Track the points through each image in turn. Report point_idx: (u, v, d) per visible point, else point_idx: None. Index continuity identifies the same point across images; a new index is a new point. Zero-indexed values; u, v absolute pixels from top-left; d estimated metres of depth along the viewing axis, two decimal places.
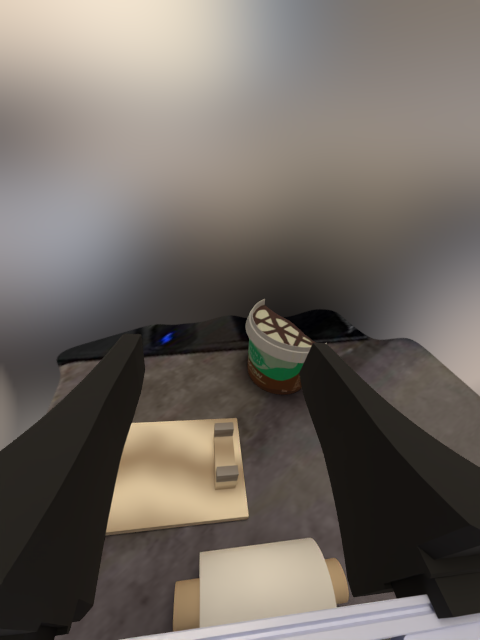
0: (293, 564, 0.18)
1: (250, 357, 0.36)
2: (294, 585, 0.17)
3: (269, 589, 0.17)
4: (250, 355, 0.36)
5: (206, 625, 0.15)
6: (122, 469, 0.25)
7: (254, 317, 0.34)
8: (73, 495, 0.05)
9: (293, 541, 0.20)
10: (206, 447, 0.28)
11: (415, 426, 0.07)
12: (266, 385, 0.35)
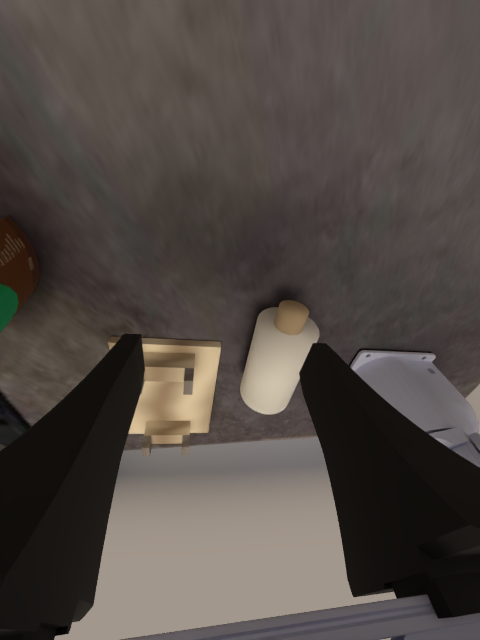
0: (277, 367, 0.20)
1: None
2: (289, 371, 0.20)
3: (283, 384, 0.21)
4: None
5: (281, 409, 0.24)
6: (169, 417, 0.30)
7: None
8: (73, 495, 0.05)
9: (258, 347, 0.20)
10: None
11: (415, 426, 0.07)
12: (29, 295, 0.18)
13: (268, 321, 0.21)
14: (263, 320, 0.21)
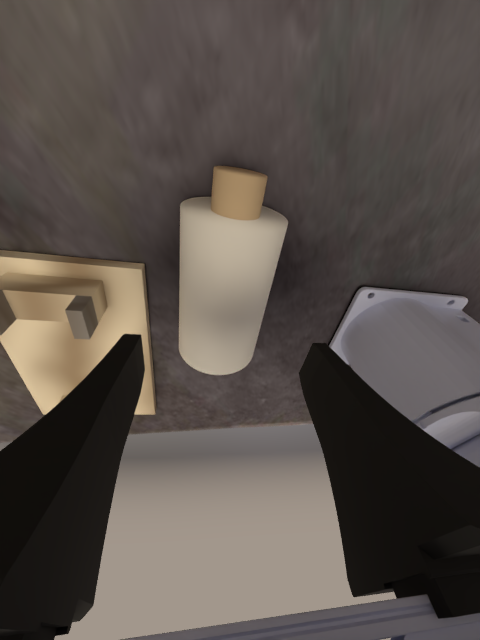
0: (213, 278, 0.12)
1: None
2: (234, 287, 0.12)
3: (230, 316, 0.13)
4: None
5: (237, 368, 0.16)
6: None
7: None
8: (73, 495, 0.05)
9: (183, 247, 0.12)
10: None
11: (415, 426, 0.07)
12: None
13: (201, 205, 0.12)
14: (193, 203, 0.12)
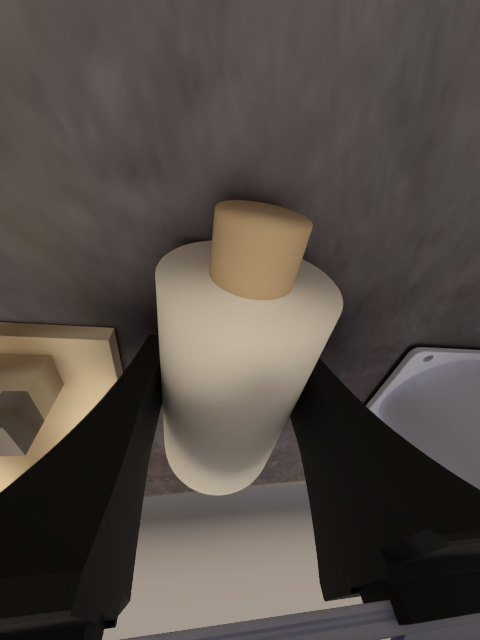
0: (213, 399, 0.07)
1: None
2: (251, 411, 0.07)
3: (241, 442, 0.08)
4: None
5: (248, 483, 0.11)
6: None
7: None
8: (122, 492, 0.05)
9: (162, 339, 0.07)
10: None
11: (386, 426, 0.07)
12: None
13: (194, 264, 0.07)
14: (179, 261, 0.07)
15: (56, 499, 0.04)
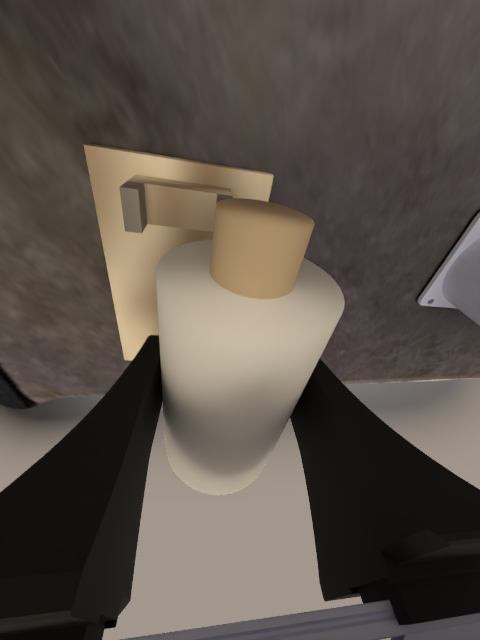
0: (214, 399, 0.07)
1: None
2: (252, 410, 0.07)
3: (242, 442, 0.08)
4: None
5: (249, 483, 0.11)
6: None
7: None
8: (122, 492, 0.05)
9: (162, 338, 0.07)
10: (156, 227, 0.16)
11: (386, 426, 0.07)
12: None
13: (194, 263, 0.07)
14: (180, 260, 0.07)
15: (56, 499, 0.04)
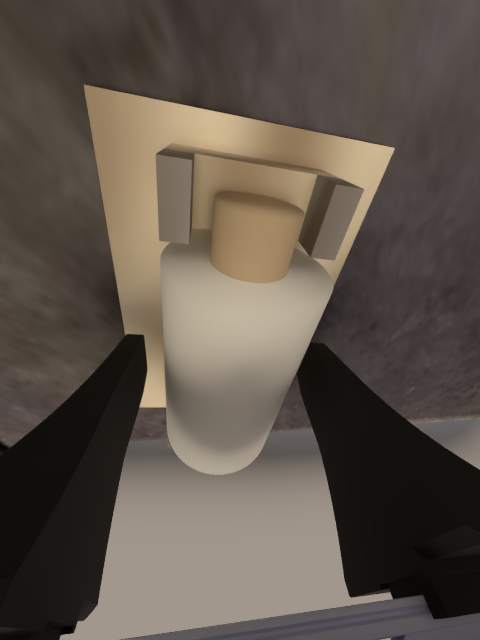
0: (214, 375, 0.07)
1: None
2: (248, 386, 0.07)
3: (239, 418, 0.08)
4: None
5: (247, 463, 0.11)
6: None
7: None
8: (79, 495, 0.05)
9: (166, 320, 0.07)
10: (197, 232, 0.10)
11: (412, 426, 0.07)
12: None
13: (196, 252, 0.08)
14: (182, 249, 0.08)
15: (1, 502, 0.04)
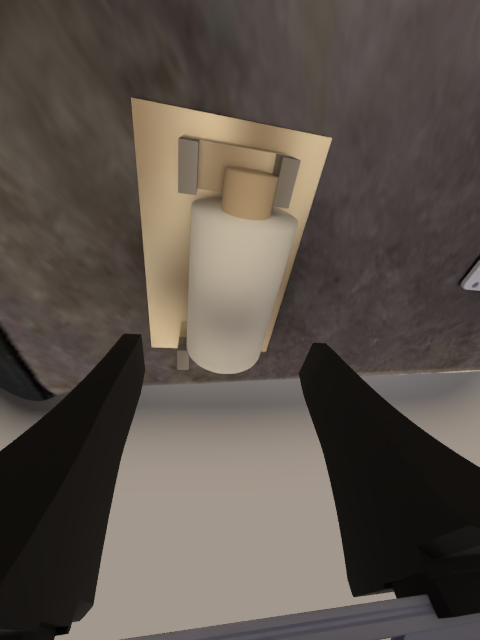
0: (251, 281, 0.12)
1: None
2: (268, 285, 0.12)
3: (261, 313, 0.13)
4: None
5: (258, 357, 0.17)
6: None
7: None
8: (73, 495, 0.05)
9: (211, 257, 0.11)
10: (200, 197, 0.14)
11: (415, 426, 0.07)
12: None
13: (213, 210, 0.12)
14: (204, 209, 0.11)
15: None
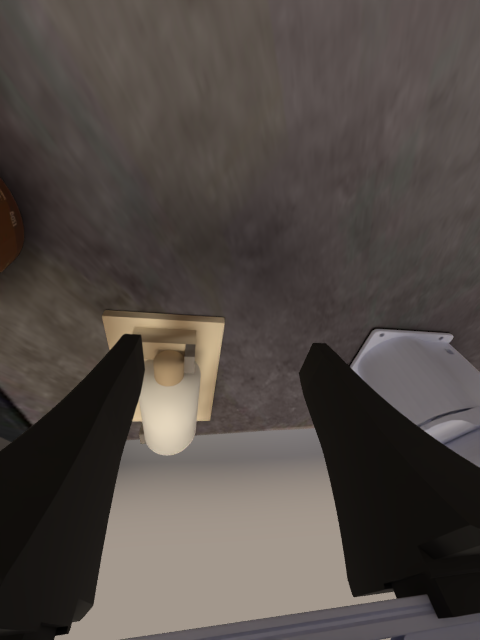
0: (170, 418, 0.21)
1: None
2: (183, 416, 0.21)
3: (182, 426, 0.22)
4: None
5: (190, 441, 0.25)
6: None
7: None
8: (73, 495, 0.05)
9: (146, 407, 0.20)
10: None
11: (415, 426, 0.07)
12: (12, 257, 0.16)
13: (148, 378, 0.20)
14: (143, 379, 0.20)
15: None
